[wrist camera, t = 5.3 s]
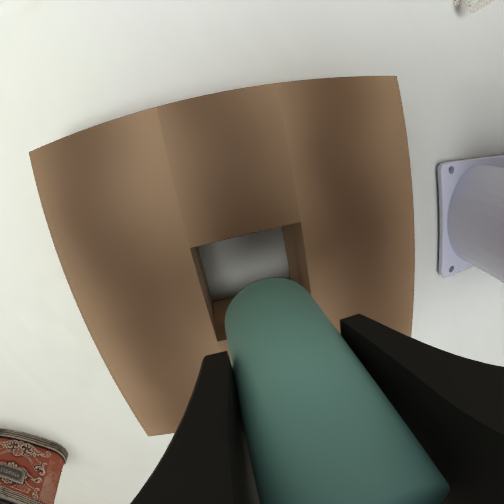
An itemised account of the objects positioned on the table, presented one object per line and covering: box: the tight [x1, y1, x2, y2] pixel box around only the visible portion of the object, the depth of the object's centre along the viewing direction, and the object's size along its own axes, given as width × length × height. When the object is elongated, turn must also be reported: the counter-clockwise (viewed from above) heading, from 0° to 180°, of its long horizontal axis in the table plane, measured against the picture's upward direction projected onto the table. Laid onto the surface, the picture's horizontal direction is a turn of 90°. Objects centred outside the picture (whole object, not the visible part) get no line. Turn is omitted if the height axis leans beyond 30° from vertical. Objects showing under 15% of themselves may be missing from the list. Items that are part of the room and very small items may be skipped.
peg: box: [225, 278, 450, 504], centre depth 7 cm, size 3×3×8 cm
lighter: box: [0, 429, 68, 504], centre depth 15 cm, size 8×3×10 cm, turn 86°
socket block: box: [29, 76, 415, 436], centre depth 16 cm, size 16×16×4 cm
